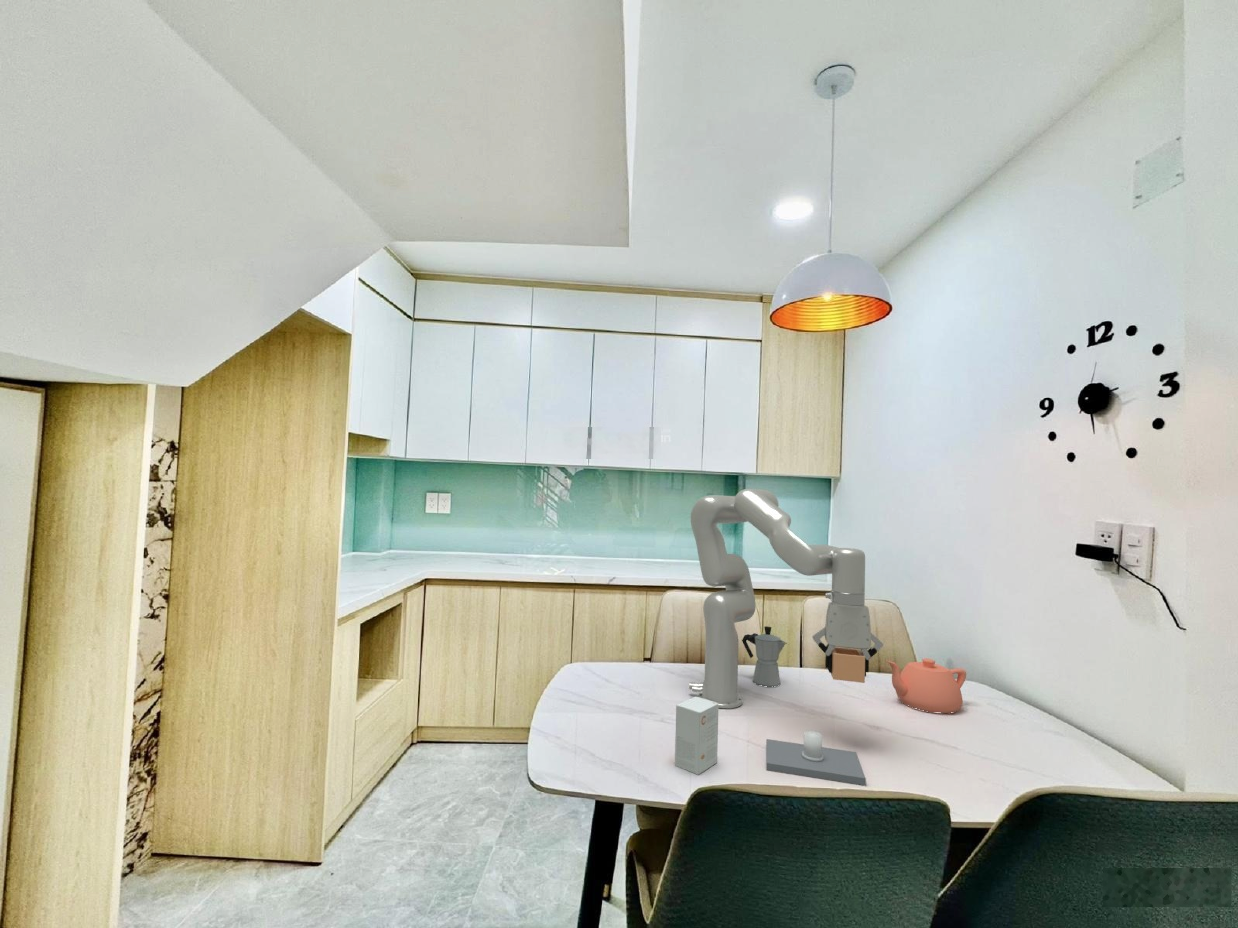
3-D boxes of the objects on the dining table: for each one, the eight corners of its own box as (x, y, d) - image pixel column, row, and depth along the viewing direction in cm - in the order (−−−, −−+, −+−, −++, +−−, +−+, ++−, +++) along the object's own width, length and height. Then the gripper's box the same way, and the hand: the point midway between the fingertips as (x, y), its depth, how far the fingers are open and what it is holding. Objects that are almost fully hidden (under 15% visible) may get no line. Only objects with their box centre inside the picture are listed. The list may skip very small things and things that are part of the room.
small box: (693, 753, 128) (695, 695, 129) (717, 763, 124) (719, 702, 125) (673, 765, 122) (675, 704, 123) (698, 775, 118) (700, 712, 119)
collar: (833, 679, 134) (833, 653, 134) (829, 671, 141) (830, 646, 141) (864, 683, 132) (865, 657, 133) (859, 674, 139) (859, 649, 139)
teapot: (901, 715, 158) (902, 667, 159) (870, 694, 175) (870, 650, 176) (985, 716, 160) (985, 668, 161) (946, 695, 177) (946, 652, 178)
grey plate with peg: (766, 770, 122) (767, 739, 122) (766, 745, 134) (767, 717, 135) (865, 785, 117) (865, 753, 117) (855, 758, 129) (856, 729, 130)
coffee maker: (789, 683, 182) (791, 627, 183) (782, 690, 175) (783, 632, 176) (745, 674, 190) (747, 620, 191) (736, 681, 183) (738, 624, 184)
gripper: (812, 598, 136) (810, 673, 135) (889, 604, 132) (888, 682, 131) (809, 593, 143) (807, 664, 142) (883, 599, 139) (882, 672, 138)
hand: (846, 672), depth 136 cm, fingers closed on collar, 7 cm apart
